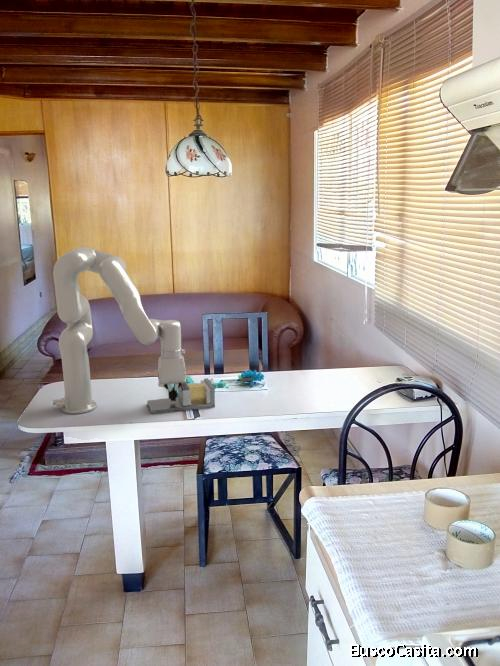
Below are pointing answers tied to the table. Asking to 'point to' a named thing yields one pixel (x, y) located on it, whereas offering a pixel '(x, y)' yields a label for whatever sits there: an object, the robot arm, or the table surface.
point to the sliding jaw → (184, 395)
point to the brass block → (197, 392)
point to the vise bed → (174, 406)
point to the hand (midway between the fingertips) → (173, 399)
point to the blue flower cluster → (250, 376)
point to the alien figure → (190, 381)
